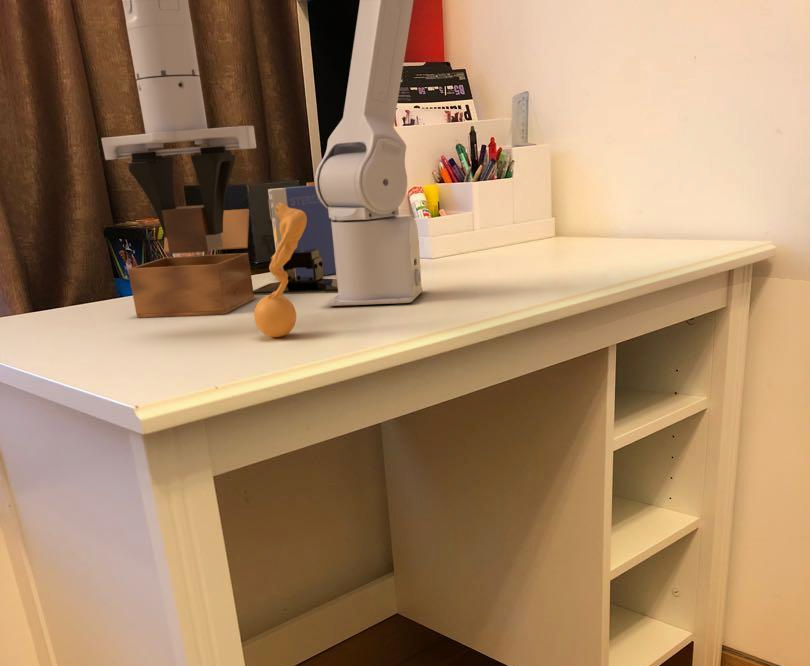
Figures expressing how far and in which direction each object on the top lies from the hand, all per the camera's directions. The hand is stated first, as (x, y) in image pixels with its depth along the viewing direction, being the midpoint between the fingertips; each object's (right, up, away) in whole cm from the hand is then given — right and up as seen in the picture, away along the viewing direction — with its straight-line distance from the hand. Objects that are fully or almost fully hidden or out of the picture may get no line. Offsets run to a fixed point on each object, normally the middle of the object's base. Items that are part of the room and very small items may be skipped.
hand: (193, 235), depth 86 cm
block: (0, -1, +1) cm, 1 cm away
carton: (-4, -2, +18) cm, 19 cm away
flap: (-3, +8, +20) cm, 22 cm away
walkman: (+7, +7, +37) cm, 38 cm away
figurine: (+9, -10, -1) cm, 14 cm away
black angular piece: (+8, +2, +27) cm, 28 cm away
